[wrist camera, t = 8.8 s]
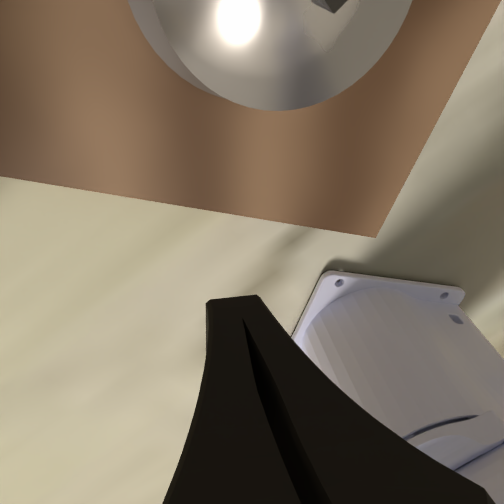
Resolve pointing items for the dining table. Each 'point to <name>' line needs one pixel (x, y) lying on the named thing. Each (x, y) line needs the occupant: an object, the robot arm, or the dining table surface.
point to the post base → (218, 116)
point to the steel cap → (280, 45)
